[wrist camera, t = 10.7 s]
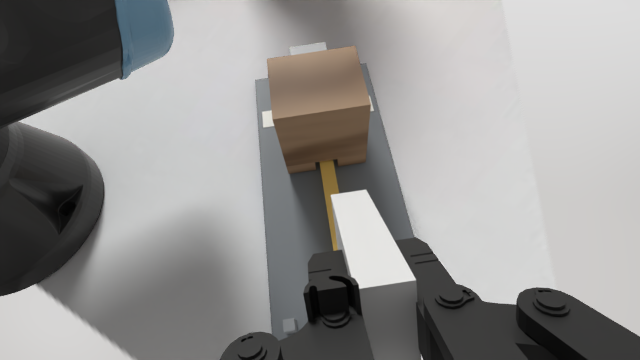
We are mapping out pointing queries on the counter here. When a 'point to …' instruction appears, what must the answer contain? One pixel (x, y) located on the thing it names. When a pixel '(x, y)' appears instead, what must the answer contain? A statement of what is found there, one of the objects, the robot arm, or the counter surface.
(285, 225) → the sliding block track
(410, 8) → the counter surface
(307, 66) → the cardboard box
